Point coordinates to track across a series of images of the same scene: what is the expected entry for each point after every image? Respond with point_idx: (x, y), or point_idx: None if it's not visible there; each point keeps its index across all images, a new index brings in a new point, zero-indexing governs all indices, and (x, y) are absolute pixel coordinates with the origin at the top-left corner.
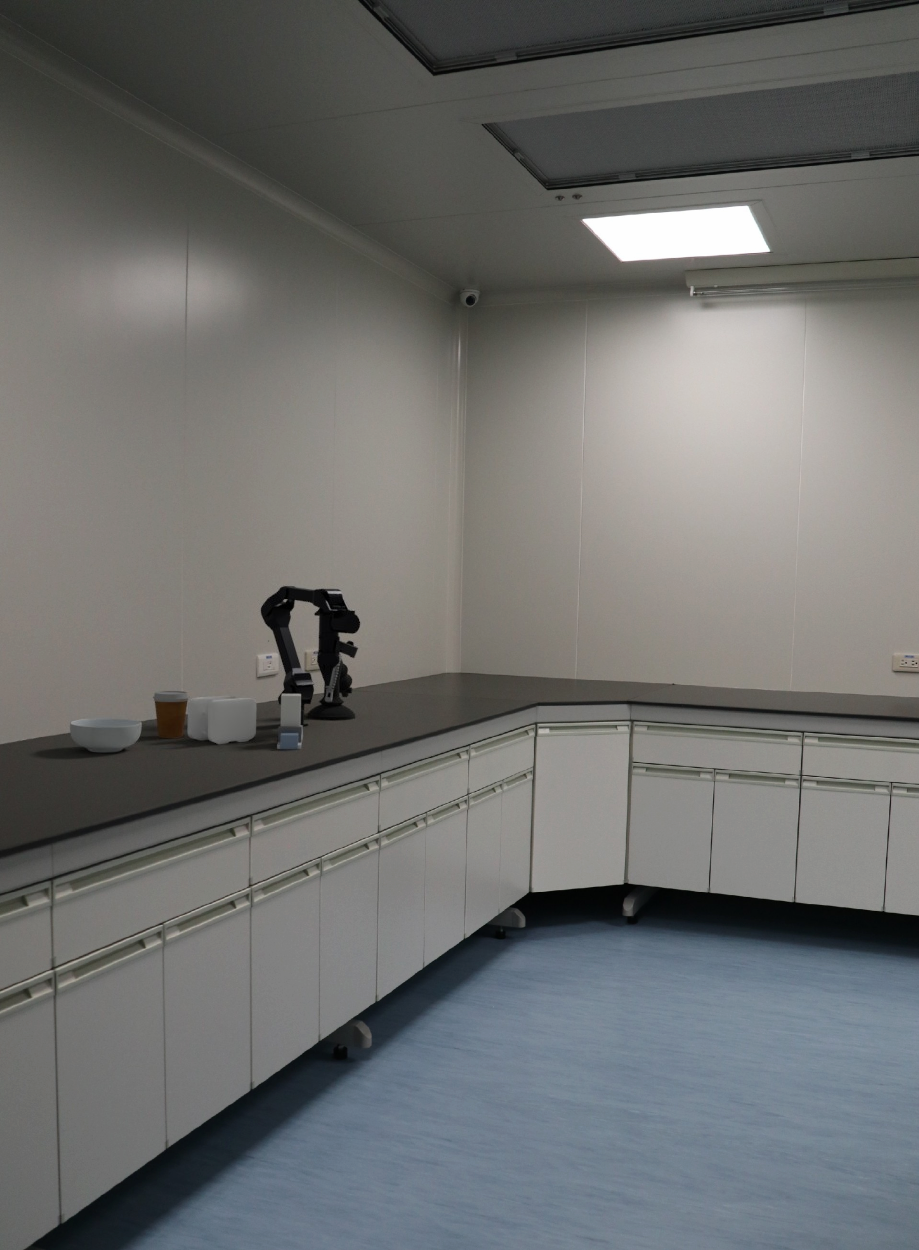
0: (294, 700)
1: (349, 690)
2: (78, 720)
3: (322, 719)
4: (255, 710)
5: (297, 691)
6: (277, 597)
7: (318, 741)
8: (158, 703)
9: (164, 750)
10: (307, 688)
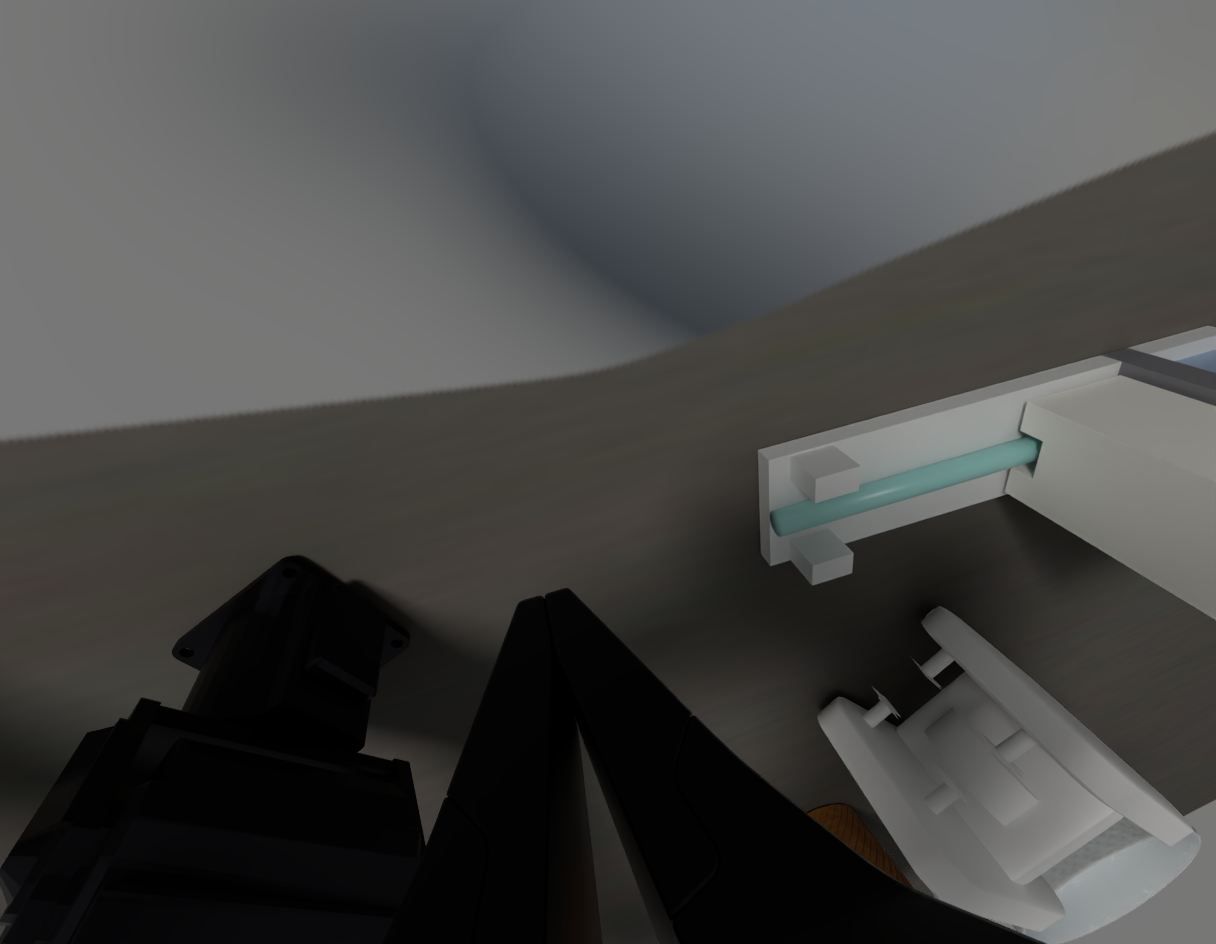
0: None
1: None
2: (1058, 941)
3: None
4: (1053, 707)
5: (414, 843)
6: None
7: (983, 297)
8: None
9: (1079, 719)
10: (249, 851)
